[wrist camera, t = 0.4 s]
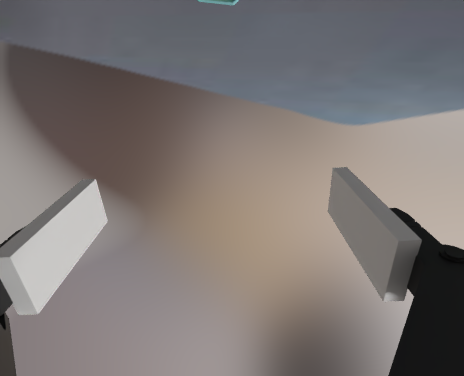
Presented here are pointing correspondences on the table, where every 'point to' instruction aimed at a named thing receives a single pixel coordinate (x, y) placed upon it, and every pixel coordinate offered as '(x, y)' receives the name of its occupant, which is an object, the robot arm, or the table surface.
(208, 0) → the cup
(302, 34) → the table surface
